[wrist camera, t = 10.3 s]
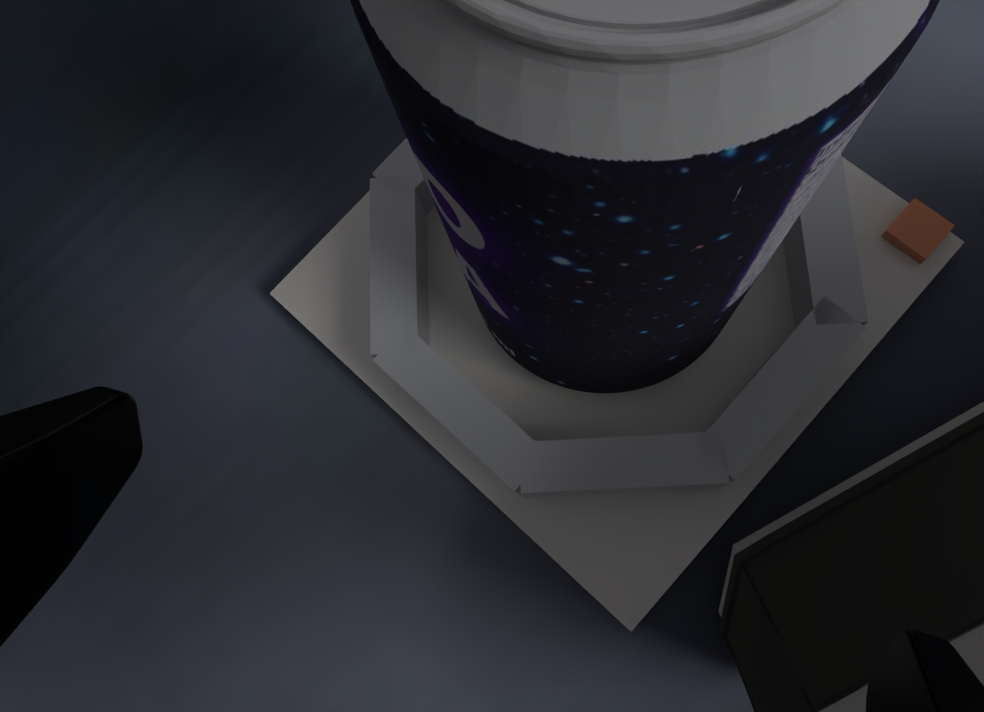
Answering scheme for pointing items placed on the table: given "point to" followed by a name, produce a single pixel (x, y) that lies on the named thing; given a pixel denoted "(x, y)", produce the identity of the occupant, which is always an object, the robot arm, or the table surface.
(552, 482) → the mount
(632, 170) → the beverage can
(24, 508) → the robot arm
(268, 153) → the table surface
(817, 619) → the camera
